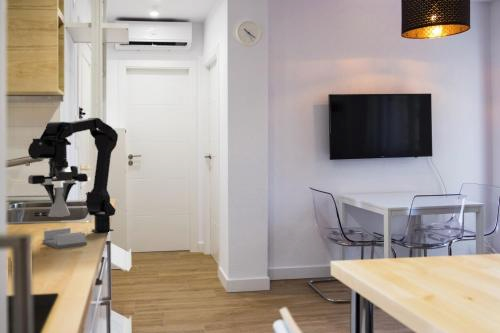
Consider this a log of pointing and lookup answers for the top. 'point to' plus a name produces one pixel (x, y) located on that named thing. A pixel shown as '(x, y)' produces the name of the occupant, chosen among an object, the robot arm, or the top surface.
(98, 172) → the robot arm
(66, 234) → the grey stepped block
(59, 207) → the flask
